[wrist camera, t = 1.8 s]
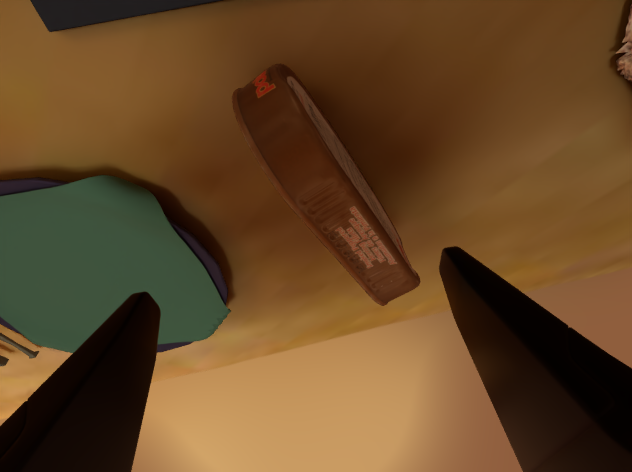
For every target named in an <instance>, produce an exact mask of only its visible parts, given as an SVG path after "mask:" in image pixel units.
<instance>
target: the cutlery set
mask: <svg viewBox="0 0 632 472" xmlns="http://www.w3.org/2000/svg"><path fill="white" fill-rule="evenodd" d="M138 292H148V293H149V294H150V295H151V296H152V298H153V299H154V300H155V302H156V303H157V304H158V305H159V307H160V310H161V317H160V326H159V335H158V345H157V352H164V351H167V350H171V349H174V348H178V347H181V346H185V345H188V344H191V343H192V342H194V341H200V340H203V339H206V338H208V337H210V336H211V335H212V334H214V331H215V330H216V329H218V326H219V325H220V324H221V323H222V322H223V320H224V319H225V318H226V317H227V314H229V313H230V312H231V310H230V309H228V308H227V307H226V301H227V295H228V288H227V285H226V283H225V280H224V277H223V274H222V272H221V269H220V266H219V263H218V262H217V261H216V260H215V259H214V257H213V256H212V255H211V254H210V253H209V252H208V251H207V249H206V248H205V247H204V246H203V245H202V244H201V243H200V242H199V240H198V239H197V238H196V237H195V236H194V235H193V234H192V233H190V232H189V231H187V230H186V229H184V228H182V227H181V226H179V225H178V224H176V223H175V222H173V221H172V220H170V219H169V218H167V217H166V216H165V215H164V213H163V211H162V209H161V206H160V205H159V203H158V201H157V199H156V198H155V196H154V195H153V194H152V193H151V192H150V191H148V190H147V189H145V188H143V187H140V186H138V185H136V184H133V183H131V182H129V181H126V180H124V179H121V178H118V177H115V176H107V175H100V176H95V177H89V178H86V179H82V180H79V181H76V182H72V183H70V182H64V181H58V180H52V179H45V178H39V177H37V178H25V179H12V180H0V324H1V325H3V326H5V327H7V328H9V329H11V330H13V331H15V332H17V333H20V334H22V335H23V336H25V337H26V338H27V339H28V340H30V341H31V342H32V343H34V344H37V345H39V346H43V347H48V348H53V349H57V350H61V351H65V352H70V353H74V352H75V351H76V350H77V349H78V348H79V347H80V346H81V345H82V344H83V343H84V342H85V341H86V340H87V339H88V338H89V337H90V336H91V335H92V334H93V333H94V332H95V331H96V330H97V329H98V328H99V327H100V326H101V324H102V323H103V322H104V321H105V320H106V319H107V318H108V317H109V316H110V315H111V314H112V313H113V312H114V311H115V310H116V309H117V308H118V307H119V306H120V305H121V304H122V303H123V302H124V301H125V300H126V299H127V298H128V297H129V296H130V295H132V294H133V293H138ZM0 340H2V341H4V342H7V343H9V344H11V345H13V346H15V347H16V348H18V349H19V350H21V351H22V352H24V353H25V354H27V355H28V356H29V359H30V358H35V357H36V356H37V354H38V353H39V351H36V352H33V351H31V350H29V349H28V348H26V347H24V346H22V345H20V344H18V343H16V342H14V341H13V340H11V339H10V338H8V337H7V336H5V335H3V334H2V333H0ZM8 360H9V359H7V358H5V357H3V356H1V355H0V366H5V365H6V363H7V362H8Z"/></svg>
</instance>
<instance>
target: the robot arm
mask: <svg viewBox="0 0 632 472" xmlns="http://www.w3.org/2000/svg"><path fill="white" fill-rule="evenodd" d="M439 270H440V275H441V278H442V281H443V285H444V288H445V291H446V294H447V297H448V300H449V304H450V307H451V310H452V313H453V316H454V319H455V321H456V324H457V326H458V328H459V330H460V332H461V335H462V337H463V339H464V342H465V344H466V346H467V348H468V350H469V353H470V355H471V357H472V359H473V362H474V364H475V366H476V368H477V371H478V373H479V375H480V377H481V379H482V382H483V384H484V386H485V388H486V390H487V393H488V395H489V397H490V399H491V402H492V404H493V406H494V408H495V410H496V413H497V415H498V417H499V419H500V422H501V424H502V426H503V428H504V431H505V433H506V435H507V437H508V439H509V441H510V444H511V446H512V448H513V450H514V453H515V455H516V457H517V459H518V462H519V464H520V466H521V468H522V470H523V472H632V368H630V367H629V366H627V365H625V364H624V363H622V362H621V361H619V360H618V359H616V358H615V357H613V356H611V355H610V354H608V353H607V352H605V351H604V350H602V349H601V348H599V347H598V346H597V345H595V344H594V343H592V342H591V341H589V340H588V339H586V338H585V337H583V336H582V335H581V334H579V333H578V332H577V331H575V330H574V329H572V328H570V327H569V328H568V325H566V324H565V323H564V322H562V321H561V320H560V319H558V318H557V317H556V316H554V315H553V314H551V313H550V312H549V311H547V310H546V309H544V308H543V307H541V306H540V305H539V304H537V303H536V302H535V301H533V300H532V299H530V298H529V297H528V296H526V295H525V294H524V293H522V292H521V291H519V290H518V289H517V288H515V287H514V286H512V285H511V284H510V283H508V282H507V281H505V280H504V279H503V278H501V277H500V276H499V275H497V274H496V273H494V272H493V271H492V270H490V269H489V268H487V267H486V266H485V265H483V264H482V263H480V262H479V261H478V260H476V259H475V258H473V257H472V256H471V255H469V254H468V253H467V252H465V251H464V250H462V249H461V248H459V247H457V246H454V247H447V248H444V249H443V250H442V255H441V260H440V266H439ZM160 317H161V310H160V307H159V305H158V304H157V303H156V302H155V300H154V299H153V298H152V296H151V295H150V294H149V293H148V292H138V293H133V294H132V295H130V296H129V297H128V298H127V299H126V300H125V301H124V302H123V303H122V304H121V305H120V306H119V307H118V308H117V309H116V310H115V311H114V312H113V313H112V314H111V315H110V316H109V317H108V318H107V319H106V320H105V321H104V322H103V323H102V324H101V326H100V327H99V328H98V329H97V330H96V331H95V332H94V333H93V334H92V335H91V336H90V337H89V338H88V339H87V340H86V341H85V342H84V343H83V344H82V345H81V346H80V347H79V348H78V349H77V350H76V351H75V352H74V353H73V354H72V355H71V356H70V357H69V358H68V359H67V360H66V361H65V362H64V363H63V364H62V365H61V366H60V367H59V368H58V369H57V370H56V371H55V372H54V373H53V374H52V375H51V376H50V377H49V378H48V379H47V380H46V381H45V382H44V383H43V384H42V385H41V386H40V387H39V388H38V389H37V390H36V391H35V392H34V393H33V394H32V395H31V396H30V397H29V398H28V401H25V402H24V403H23V404H22V405H21V406H20V407H19V408H18V409H17V410H16V411H15V412H14V413H13V414H12V415H11V416H10V417H9V418H8V419H7V420H6V421H5V422H4V423H3V424H2V425H1V426H0V472H131V470H132V465H133V460H134V456H135V451H136V447H137V443H138V438H139V434H140V429H141V424H142V420H143V415H144V411H145V406H146V402H147V397H148V393H149V388H150V384H151V379H152V375H153V370H154V366H155V361H156V354H157V345H158V335H159V326H160Z"/></svg>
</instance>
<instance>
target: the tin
mask: <svg viewBox="0 0 632 472" xmlns="http://www.w3.org/2000/svg"><path fill="white" fill-rule="evenodd" d="M232 103H233V109H234V112H235V115H236V119H237V121H238V123H239V126H240V129H241V131H242V133H243V135H244V138H245V140H246V142H247V144H248V145H249V147H250V149H251V151H252V152H253V154H254V156H255V158H256V159H257V161H258V163H259V164H260V166H261V167H262V169H263V171H264V172H265V174H266V175H267V177H268V178H269V180H270V181H271V183H272V184H273V186H274V187H275V189H276V190H277V191H278V192H279V194H280V195H281V196H282V198H283V199H284V200H285V202H286V203H287V204H288V205H289V206H290V208H291V209H292V210H293V211H294V212H295V213H296V214H297V216H298V217H299V218H300V219H301V220H302V221H303V222H304V223H305V224H306V226H307V227H308V228H309V229H310V230H311V231H312V232H313V233H314V234H315V235H316V237H317V238H318V239H319V240H320V241H321V242H322V243H323V245H324V246H325V247H326V248H327V249H328V250H329V251H330V252H331V253H332V254H333V255H334V257H335V258H336V259H337V260H338V261H339V262H340V263H341V264H342V266H343V267H344V268H345V269H346V270H347V271H348V272H349V273H350V275H351V276H352V277H353V278H354V279H355V280H356V281H357V282H358V283H359V285H360V286H361V287H362V288H363V289H364V290H365V292H366V293H367V294H368V295H369V296H370V297H371V298H372V299H373V300H374V301H375V302H376V303H378V304H380V305H382V306H384V305H386V304H387V303H388V302H389V301H391V300H393V299H395V298H397V297H399V296H401V295H403V294H405V293H407V292H409V291H411V290H413V289H415V288H416V287H418V286H419V284H420V278H419V276H418V274H417V273H416V271H415V270H414V269H413V268H412V267H411V265H410V263H409V260H408V258H407V256H406V254H405V252H404V249H403V246H402V242H401V239H400V237H399V235H398V233H397V231H396V229H395V228H394V226H393V224H392V222H391V221H390V219H389V217H388V215H387V214H386V212H385V210H384V209H383V207H382V205H381V204H380V202H379V201H378V199H377V197H376V196H375V194H374V192H373V191H372V189H371V188H370V186H369V184H368V183H367V181H366V180H365V178H364V176H363V175H362V173H361V171H360V170H359V168H358V167H357V165H356V163H355V162H354V160H353V159H352V157H351V155H350V154H349V152H348V151H347V149H346V148H345V146H344V144H343V143H342V141H341V140H340V138H339V137H338V135H337V134H336V132H335V131H334V129H333V128H332V126H331V125H330V123H329V122H328V120H327V119H326V117H325V116H324V114H323V113H322V111H321V110H320V108H319V107H318V105H317V104H316V102H315V101H314V99H313V98H312V97H311V95H310V94H309V92H308V91H307V89H306V88H305V87H304V85H303V84H302V82H301V81H300V80H299V79H298V77H297V76H296V75H295V74H294V73H293V71H292V70H291V69H290V68H288V67H287V66H286V65H284V64H275V65H273V66H271V67H269V68H268V69H266V70H265V71H264V72H263V73H261V74H260V75H259V76H258V77H256V78H255V79H254V80H253V81H251V82H250V83H249V84H247V85H246V86H245V87H244V88H239V89H237V90H235V91H234V93H233V96H232Z"/></svg>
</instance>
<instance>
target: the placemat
mask: <svg viewBox="0 0 632 472" xmlns="http://www.w3.org/2000/svg"><path fill="white" fill-rule="evenodd" d="M30 1H31V2H32V4H33V6H34V7H35V9H36V11H37V12H38V14H39V16H40V17H41V19H42V21H43V22H44V24H45V26H46V27H47V29H48V31H49V32H53V31H58V30H64V29H69V28H75V27H80V26H86V25H91V24H97V23H102V22H107V21H113V20H118V19H124V18H129V17H135V16H140V15H146V14H151V13H157V12H162V11H167V10H173V9H178V8H184V7H189V6H195V5H200V4H206V3H211V2H216V1H222V0H30Z"/></svg>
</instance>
